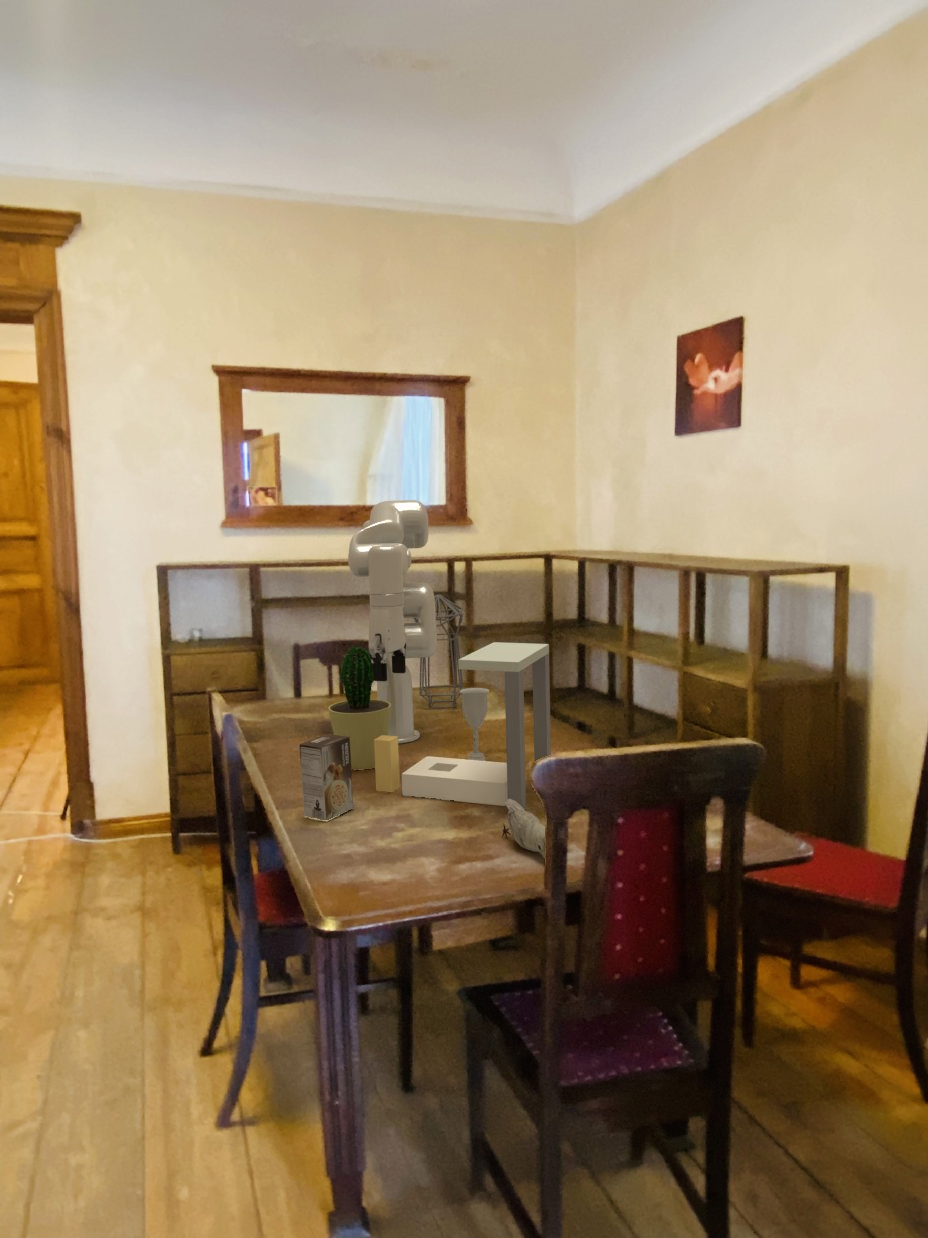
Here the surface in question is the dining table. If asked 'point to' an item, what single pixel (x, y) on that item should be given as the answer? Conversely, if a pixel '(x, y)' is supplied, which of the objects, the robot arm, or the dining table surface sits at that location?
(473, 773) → the socket block
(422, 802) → the dining table surface
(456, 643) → the geometric lantern
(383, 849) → the dining table surface
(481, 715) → the chalice
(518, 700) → the c-shaped stand
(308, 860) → the dining table surface
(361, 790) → the dining table surface
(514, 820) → the decorative bird
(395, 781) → the peg
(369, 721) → the potted cactus
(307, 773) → the coffee box
